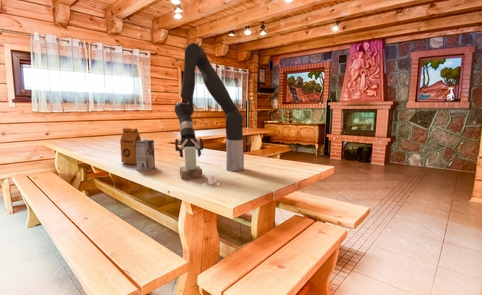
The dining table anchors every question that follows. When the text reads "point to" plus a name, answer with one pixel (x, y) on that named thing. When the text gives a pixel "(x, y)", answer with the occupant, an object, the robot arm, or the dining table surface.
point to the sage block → (190, 158)
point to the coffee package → (129, 145)
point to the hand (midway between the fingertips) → (190, 156)
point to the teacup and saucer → (211, 181)
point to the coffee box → (145, 154)
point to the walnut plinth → (190, 173)
